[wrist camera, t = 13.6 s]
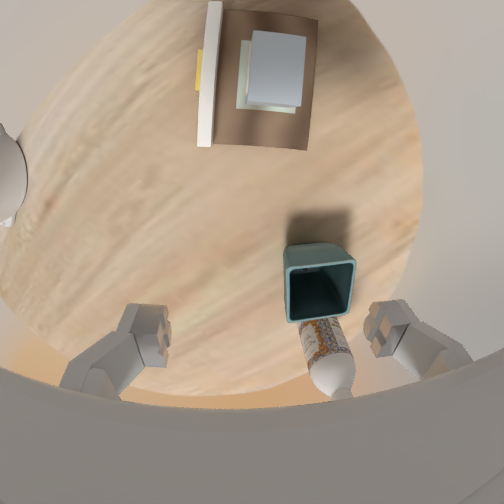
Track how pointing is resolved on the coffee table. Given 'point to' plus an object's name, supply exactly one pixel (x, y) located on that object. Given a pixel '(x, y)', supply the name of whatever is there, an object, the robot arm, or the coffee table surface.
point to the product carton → (275, 69)
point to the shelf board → (234, 77)
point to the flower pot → (317, 281)
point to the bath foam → (328, 356)
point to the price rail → (208, 73)
